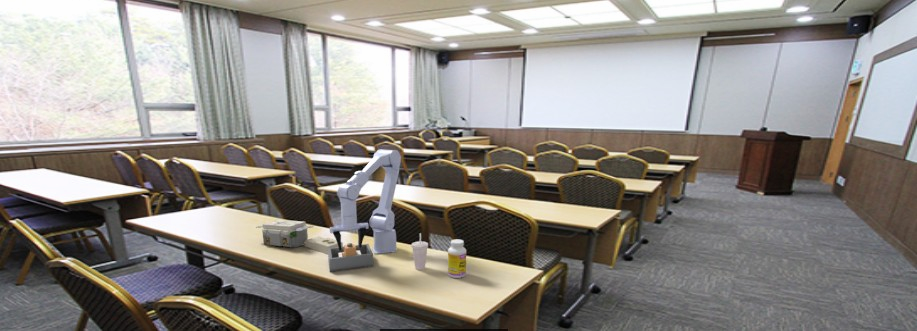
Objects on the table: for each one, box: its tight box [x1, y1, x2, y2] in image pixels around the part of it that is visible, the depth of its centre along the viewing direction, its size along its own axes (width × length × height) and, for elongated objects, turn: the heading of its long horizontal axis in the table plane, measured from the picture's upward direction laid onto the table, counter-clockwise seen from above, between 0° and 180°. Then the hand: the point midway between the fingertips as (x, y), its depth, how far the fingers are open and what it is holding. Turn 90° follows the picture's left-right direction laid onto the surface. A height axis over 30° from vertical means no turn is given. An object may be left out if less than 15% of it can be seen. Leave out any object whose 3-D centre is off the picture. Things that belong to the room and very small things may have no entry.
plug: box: [343, 242, 356, 257], centre depth 149 cm, size 4×4×7 cm
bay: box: [327, 243, 374, 273], centre depth 149 cm, size 16×13×5 cm
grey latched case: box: [255, 219, 314, 248], centre depth 172 cm, size 12×28×10 cm, turn 65°
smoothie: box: [411, 232, 429, 271], centre depth 144 cm, size 6×6×14 cm
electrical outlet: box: [304, 236, 344, 255], centre depth 167 cm, size 7×4×18 cm
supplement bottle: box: [447, 238, 467, 279], centre depth 138 cm, size 7×7×13 cm
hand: (350, 248), depth 149 cm, fingers open, 7 cm apart
